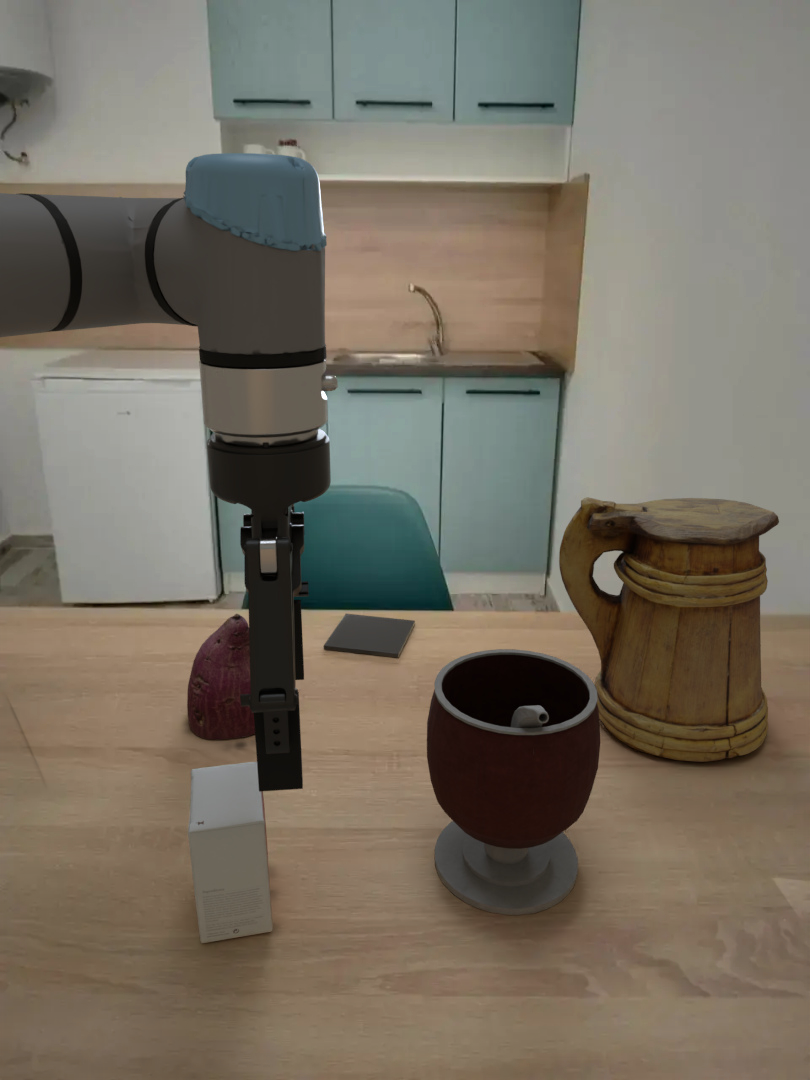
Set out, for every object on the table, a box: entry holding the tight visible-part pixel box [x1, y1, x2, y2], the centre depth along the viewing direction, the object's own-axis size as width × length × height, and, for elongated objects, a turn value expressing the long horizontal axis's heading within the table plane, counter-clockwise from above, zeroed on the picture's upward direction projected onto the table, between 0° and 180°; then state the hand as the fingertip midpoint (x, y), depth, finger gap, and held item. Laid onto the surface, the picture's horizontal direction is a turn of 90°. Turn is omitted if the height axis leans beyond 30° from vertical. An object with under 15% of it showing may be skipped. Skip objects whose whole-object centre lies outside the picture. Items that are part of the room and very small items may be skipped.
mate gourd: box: [426, 648, 601, 916], centre depth 67 cm, size 16×14×20 cm
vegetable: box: [186, 613, 255, 741], centre depth 90 cm, size 10×10×15 cm
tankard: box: [558, 496, 780, 763], centre depth 89 cm, size 18×24×25 cm
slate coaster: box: [323, 613, 416, 659], centre depth 111 cm, size 10×10×1 cm
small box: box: [187, 761, 274, 944], centre depth 65 cm, size 8×6×10 cm
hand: (284, 727), depth 58 cm, fingers open, 13 cm apart
